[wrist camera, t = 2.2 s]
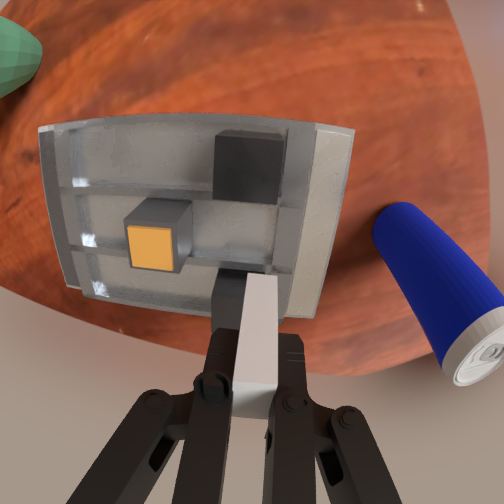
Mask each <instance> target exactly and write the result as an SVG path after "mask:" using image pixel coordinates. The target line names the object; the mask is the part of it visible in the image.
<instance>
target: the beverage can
mask: <svg viewBox="0 0 504 504" xmlns="http://www.w3.org/2000/svg"><path fill="white" fill-rule="evenodd" d="M372 237H373V242H374V244H375V247H376V248H377V250H378V251H379V253H380V255H381V256H382V258H383V259H384V261H385V263H386V264H387V266H388V268H389V269H390V271H391V273H392V274H393V276H394V278H395V279H396V281H397V283H398V285H399V286H400V288H401V290H402V292H403V293H404V295H405V297H406V299H407V301H408V302H409V304H410V306H411V308H412V310H413V312H414V313H415V315H416V317H417V319H418V321H419V323H420V325H421V327H422V329H423V331H424V333H425V335H426V337H427V339H428V341H429V343H430V345H431V347H432V349H433V351H434V353H435V356H436V358H437V360H438V362H439V364H440V366H441V369H442V371H443V373H444V374H445V375H446V376H447V377H449V379H450V380H451V381H452V382H453V383H454V384H455V385H457V386H466V385H470V384H473V383H475V382H477V381H479V380H481V379H483V378H484V377H486V376H487V375H489V374H490V373H491V372H493V371H494V370H495V369H496V368H498V367H499V366H500V365H501V364H502V363H503V362H504V296H503V295H502V293H501V292H500V291H499V290H498V289H497V287H496V286H495V285H494V284H493V283H492V282H491V280H490V279H489V278H488V277H487V276H486V275H485V274H484V272H483V271H482V270H481V269H480V268H479V267H478V266H477V265H476V264H475V263H474V262H473V260H472V259H471V258H470V257H469V256H468V255H467V254H466V253H465V252H464V251H463V250H462V249H461V248H460V247H459V246H458V245H457V244H456V243H455V242H454V241H453V240H452V239H451V238H450V237H449V236H448V235H447V234H446V233H445V232H444V231H443V230H442V229H440V228H439V227H438V226H437V225H436V224H435V223H434V222H433V221H432V220H431V219H430V218H428V217H427V216H426V215H425V214H424V213H423V212H422V211H421V210H419V209H418V208H417V207H416V206H415V205H413V204H411V203H407V202H399V203H395V204H392V205H390V206H389V207H387V208H386V209H384V210H383V211H382V212H381V213H380V215H379V216H378V217H377V219H376V221H375V224H374V226H373V232H372Z"/></svg>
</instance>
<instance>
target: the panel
mask: <svg viewBox="0 0 504 504" xmlns="http://www.w3.org/2000/svg"><path fill="white" fill-rule="evenodd" d="M354 134H355V130H354V129H351V128H348V127H343V126H337V125H332V124H326V123H320V122H313V121H307V120H299V119H292V118H283V117H274V116H264V115H252V114H238V113H218V112H158V113H138V114H124V115H113V116H103V117H94V118H87V119H79V120H73V121H66V122H61V123H55V124H50V125H45V126H42V127H38V137H39V151H40V162H41V171H42V179H43V186H44V192H45V199H46V204H47V210H48V215H49V220H50V225H51V229H52V234H53V238H54V242H55V246H56V250H57V254H58V258H59V262H60V265H61V269H62V272H63V275H64V279H65V282H66V285H67V287H71V288H76V289H81V290H82V293H83V296H84V297H88V298H93V299H98V300H103V301H108V302H114V303H119V304H125V305H131V306H137V307H143V308H149V309H155V310H162V311H169V312H176V313H183V314H190V315H198V316H206V317H211V328H212V333H214V332H215V330H216V329H217V328H218V327H219V328H227V329H236V330H240V326H241V319H242V312H243V304H244V297H245V290H246V283H247V276H248V273H254V274H264V275H274V276H277V285H278V324H283V319H284V317H296V318H312V319H314V315H315V312H316V308H317V305H318V301H319V298H320V294H321V290H322V287H323V283H324V279H325V275H326V271H327V267H328V263H329V259H330V255H331V251H332V247H333V243H334V238H335V234H336V230H337V225H338V221H339V216H340V211H341V206H342V202H343V197H344V191H345V186H346V181H347V176H348V170H349V164H350V159H351V153H352V147H353V140H354ZM145 199H159V200H177V201H192V245H193V246H192V248H191V250H190V253H189V255H188V257H187V259H186V261H185V263H184V265H183V268H182V270H181V272H180V274H175V273H166V272H158V271H150V270H141V269H134V268H130V265H129V258H128V252H127V245H126V238H125V230H124V222H123V219H124V218H125V217H126V216H127V215H128V214H129V213H130V212H132V211H133V210H134V209H135V208H136V207H137V206H138V205H139V204H140V203H141V202H142V201H143V200H145Z"/></svg>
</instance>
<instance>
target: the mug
mask: <svg viewBox="0 0 504 504" xmlns="http://www.w3.org/2000/svg"><path fill="white" fill-rule="evenodd" d="M41 59H42V45H41V43H40V42H39V41H38V39H36V38H35V37H34V36H33V35H32V34H31V33H29V32H28V31H27V30H26V29H24V28H22V27H21V26H19V25H18V24H16V23H15V22H13V21H10V20H8V19H6V18H4V17H1V16H0V98H2V97H4V96H5V95H7V94H9V93H11V92H12V91H14V90H16V89H17V88H19V87H20V86H22V85H23V84H25V83H26V82H28V81H29V80H30V79H31V78H32V77H33V76H34V75H35V73H36V72H37V70H38V68H39V65H40V63H41Z"/></svg>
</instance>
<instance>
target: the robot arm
mask: <svg viewBox="0 0 504 504" xmlns="http://www.w3.org/2000/svg"><path fill="white" fill-rule="evenodd" d="M193 385H194V390H193V391H191V392H189V393H186V394H180V395H169V394H167V393H166V392H165V391H163V390H158V389H151V390H148V391H146V392H144V393H143V394H142V395H140V396H139V398H138V399H137V401H136V402H135V404H134V405H133V406H132V408H131V409H130V411H129V413H128V414H127V415H126V417H125V418H124V419H123V421H122V422H121V424H120V425H119V427H118V428H117V430H116V431H115V432H114V434H113V435H112V437H111V438H110V440H109V441H108V443H107V444H106V445H105V447H104V448H103V450H102V451H101V453H100V454H99V456H98V457H97V459H96V460H95V461H94V463H93V464H92V466H91V468H90V469H89V470H88V472H87V473H86V475H85V476H84V478H83V479H82V481H81V482H80V484H79V485H78V486H77V488H76V489H75V491H74V492H73V494H72V495H71V497H70V498H69V500H68V501H67V503H66V504H144V502H145V501H146V499H147V497H148V495H149V494H150V492H151V490H152V488H153V486H154V485H155V483H156V481H157V480H158V478H159V476H160V474H161V473H162V471H163V469H164V467H165V465H166V464H167V462H168V460H169V458H170V456H171V455H172V453H173V451H174V449H175V447H176V446H177V444H178V442H179V440H185V441H184V446H183V451H182V455H181V460H180V464H179V470H178V474H177V479H176V484H175V489H174V494H173V499H172V504H221V499H222V491H223V482H224V475H225V466H226V459H227V451H228V443H229V435H230V424H231V416H235V417H244V418H254V419H268V417H269V419H268V428H267V432H266V434H265V439H266V451H265V468H264V469H265V470H264V485H263V501H262V504H316V480H315V479H316V478H315V457H316V461H317V464H318V467H319V470H320V472H321V476H322V478H323V482H324V485H325V488H326V491H327V493H328V496H329V500H330V503H331V504H402V502H401V500H400V497H399V495H398V492H397V490H396V488H395V485H394V483H393V480H392V478H391V476H390V473H389V471H388V469H387V466H386V464H385V462H384V460H383V457H382V455H381V453H380V451H379V448H378V446H377V444H376V441H375V439H374V437H373V435H372V433H371V430H370V428H369V426H368V424H367V421H366V419H365V417H364V415H363V414H362V412H361V411H360V410H358V409H357V408H355V407H352V406H342V407H339V408H337V409H336V410H334V409H330V408H327V407H323V406H321V405H318V404H316V403H315V402H314V401H313V400H312V399H311V398H310V396H309V394H308V391H307V382H306V368H305V356H304V344H303V342H302V340H301V338H300V337H299V335H298V334H285V333H278V285H277V276H274V275H264V274H254V273H248V276H247V283H246V290H245V297H244V304H243V312H242V319H241V326H240V330H236V329H227V328H219V327H218V328H217V329H216V330H215V332H214V333H213V334H212V335H211V339H210V343H209V348H208V352H207V356H206V360H205V365H204V370H203V372H202V373H200V374H199V375H198V376H197V377H196V378H195V380H194V382H193Z"/></svg>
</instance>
